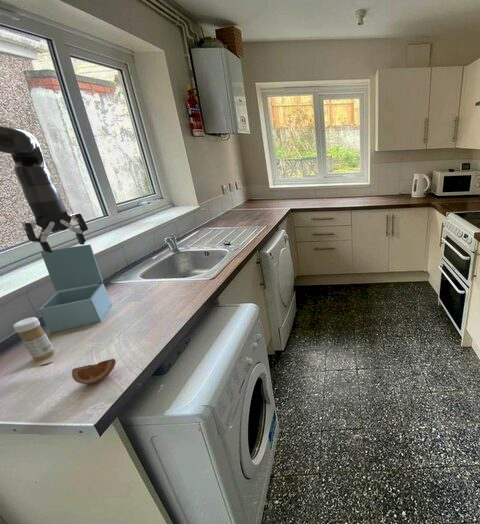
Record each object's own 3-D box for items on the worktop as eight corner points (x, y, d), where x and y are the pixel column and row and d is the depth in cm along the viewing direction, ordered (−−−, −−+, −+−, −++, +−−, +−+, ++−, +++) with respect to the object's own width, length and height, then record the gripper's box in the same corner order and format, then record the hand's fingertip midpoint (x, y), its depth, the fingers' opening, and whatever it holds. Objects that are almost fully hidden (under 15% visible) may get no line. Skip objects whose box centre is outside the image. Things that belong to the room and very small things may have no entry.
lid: (89, 244, 104) (90, 244, 104) (40, 251, 98) (41, 251, 99) (102, 282, 107) (103, 282, 108) (55, 291, 102) (56, 290, 102)
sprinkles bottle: (52, 354, 84) (30, 315, 79) (62, 357, 82) (41, 318, 77) (32, 365, 80) (8, 325, 75) (42, 368, 78) (18, 327, 73)
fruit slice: (122, 365, 78) (116, 351, 76) (116, 382, 72) (108, 367, 71) (84, 376, 75) (76, 361, 73) (74, 394, 69) (65, 379, 67)
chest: (101, 321, 99) (91, 299, 96) (50, 332, 94) (37, 310, 91) (111, 303, 111) (103, 283, 107) (67, 313, 106) (56, 292, 102)
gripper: (68, 195, 97) (87, 240, 103) (7, 203, 85) (33, 254, 91) (78, 196, 93) (97, 243, 100) (16, 204, 82) (42, 257, 88)
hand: (66, 248), depth 95 cm, fingers open, 8 cm apart
